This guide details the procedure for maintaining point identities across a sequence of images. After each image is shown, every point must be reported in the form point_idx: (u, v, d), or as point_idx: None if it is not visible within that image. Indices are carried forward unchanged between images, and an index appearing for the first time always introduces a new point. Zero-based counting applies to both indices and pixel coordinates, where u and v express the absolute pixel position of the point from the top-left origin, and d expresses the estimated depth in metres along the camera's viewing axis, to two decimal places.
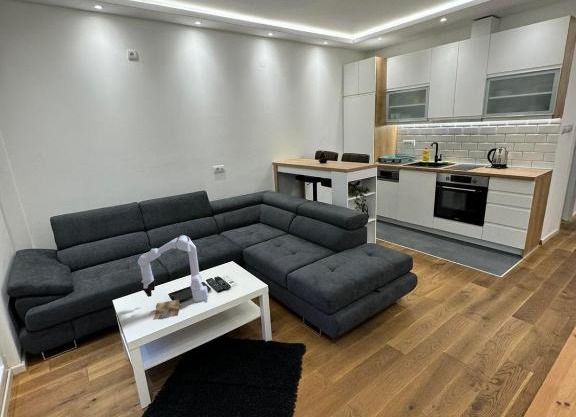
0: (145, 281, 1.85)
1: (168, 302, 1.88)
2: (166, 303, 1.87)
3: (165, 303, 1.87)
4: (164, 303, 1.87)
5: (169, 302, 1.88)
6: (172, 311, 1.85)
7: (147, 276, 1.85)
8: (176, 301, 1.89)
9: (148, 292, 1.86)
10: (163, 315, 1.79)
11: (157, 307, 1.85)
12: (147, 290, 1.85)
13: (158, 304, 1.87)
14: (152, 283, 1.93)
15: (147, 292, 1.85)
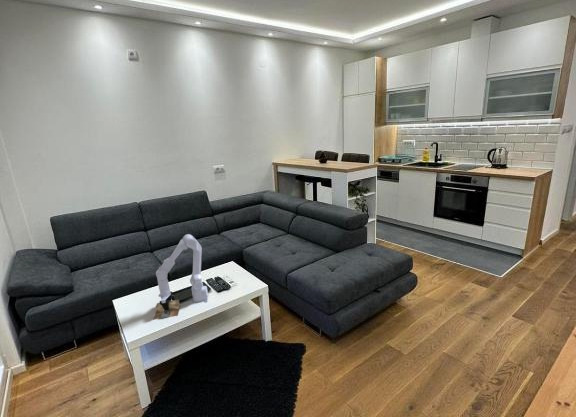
0: (162, 295, 1.83)
1: None
2: None
3: None
4: None
5: (169, 302, 1.88)
6: (172, 311, 1.85)
7: (164, 290, 1.83)
8: (176, 301, 1.89)
9: (165, 306, 1.83)
10: (163, 315, 1.79)
11: (157, 307, 1.85)
12: (164, 304, 1.83)
13: (158, 304, 1.87)
14: (169, 297, 1.91)
15: (164, 306, 1.83)
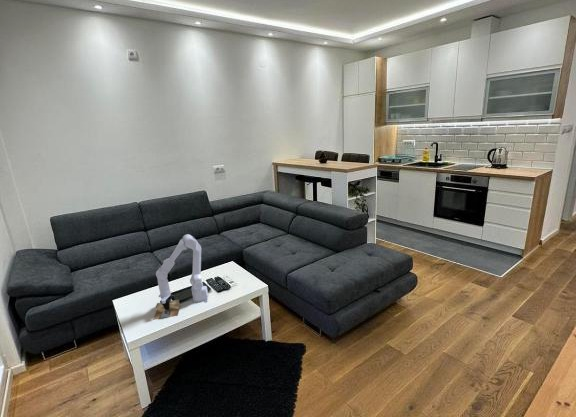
0: (162, 296, 1.83)
1: None
2: None
3: None
4: None
5: None
6: (172, 311, 1.85)
7: (165, 291, 1.83)
8: (176, 301, 1.89)
9: (166, 305, 1.85)
10: (163, 315, 1.79)
11: (157, 307, 1.85)
12: (165, 303, 1.85)
13: (158, 304, 1.87)
14: (168, 298, 1.89)
15: (165, 305, 1.85)
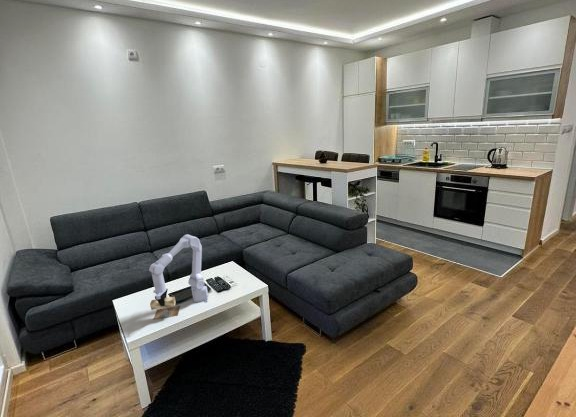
0: (157, 291, 1.74)
1: None
2: None
3: None
4: None
5: None
6: (172, 311, 1.85)
7: (159, 286, 1.74)
8: (172, 298, 1.80)
9: (161, 301, 1.76)
10: (163, 315, 1.79)
11: (152, 304, 1.76)
12: (160, 299, 1.76)
13: (153, 301, 1.78)
14: (164, 294, 1.80)
15: (160, 301, 1.76)
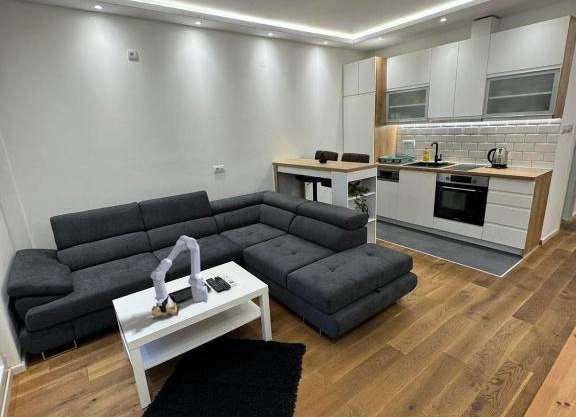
0: (159, 298, 1.75)
1: None
2: None
3: None
4: None
5: (166, 305, 1.80)
6: None
7: (161, 293, 1.75)
8: (173, 304, 1.81)
9: (162, 308, 1.77)
10: (163, 315, 1.79)
11: (153, 310, 1.77)
12: (161, 306, 1.77)
13: (154, 307, 1.79)
14: (165, 301, 1.81)
15: (161, 308, 1.77)
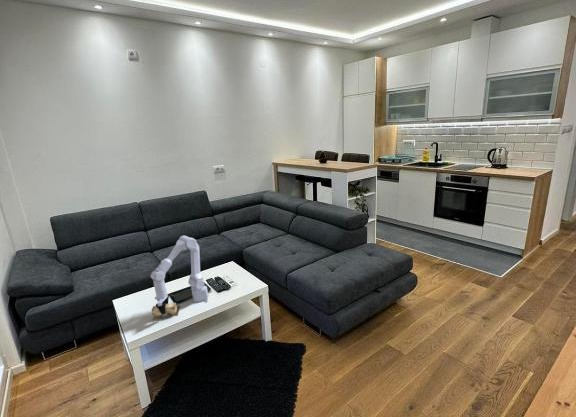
0: (159, 298, 1.75)
1: None
2: None
3: None
4: None
5: (166, 305, 1.80)
6: None
7: (161, 293, 1.75)
8: (173, 304, 1.81)
9: (162, 309, 1.76)
10: (163, 315, 1.79)
11: (153, 310, 1.77)
12: (161, 307, 1.75)
13: (154, 307, 1.79)
14: (166, 299, 1.83)
15: (161, 309, 1.75)
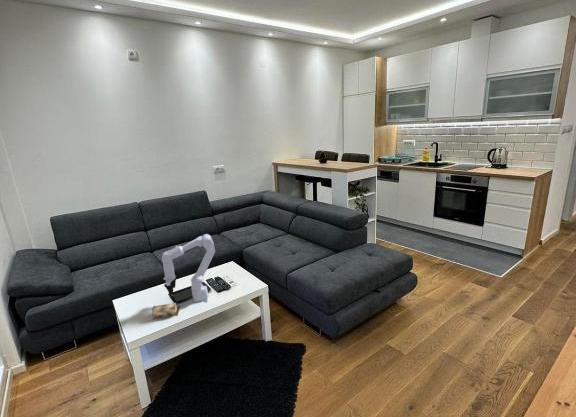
0: (167, 278, 1.85)
1: (164, 305, 1.80)
2: (162, 306, 1.79)
3: (161, 306, 1.80)
4: (160, 306, 1.80)
5: (166, 305, 1.80)
6: None
7: (169, 273, 1.85)
8: (173, 304, 1.81)
9: (170, 289, 1.85)
10: (163, 315, 1.79)
11: (153, 310, 1.77)
12: (169, 287, 1.85)
13: (154, 307, 1.79)
14: (173, 281, 1.93)
15: (169, 289, 1.85)
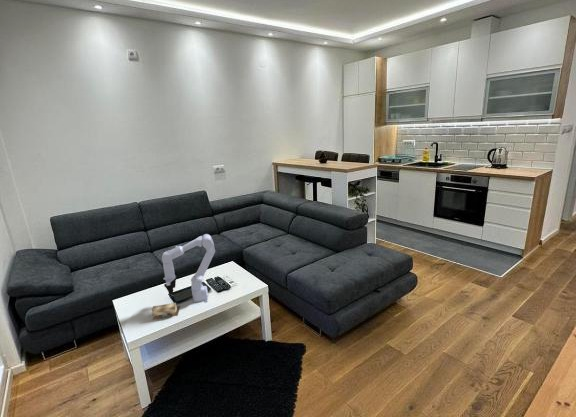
0: (167, 278, 1.85)
1: (164, 305, 1.80)
2: (162, 306, 1.79)
3: (161, 306, 1.80)
4: (160, 306, 1.80)
5: (166, 305, 1.80)
6: None
7: (169, 273, 1.85)
8: (173, 304, 1.81)
9: (170, 289, 1.85)
10: (163, 315, 1.79)
11: (153, 310, 1.77)
12: (169, 287, 1.85)
13: (154, 307, 1.79)
14: (173, 281, 1.93)
15: (169, 289, 1.85)
